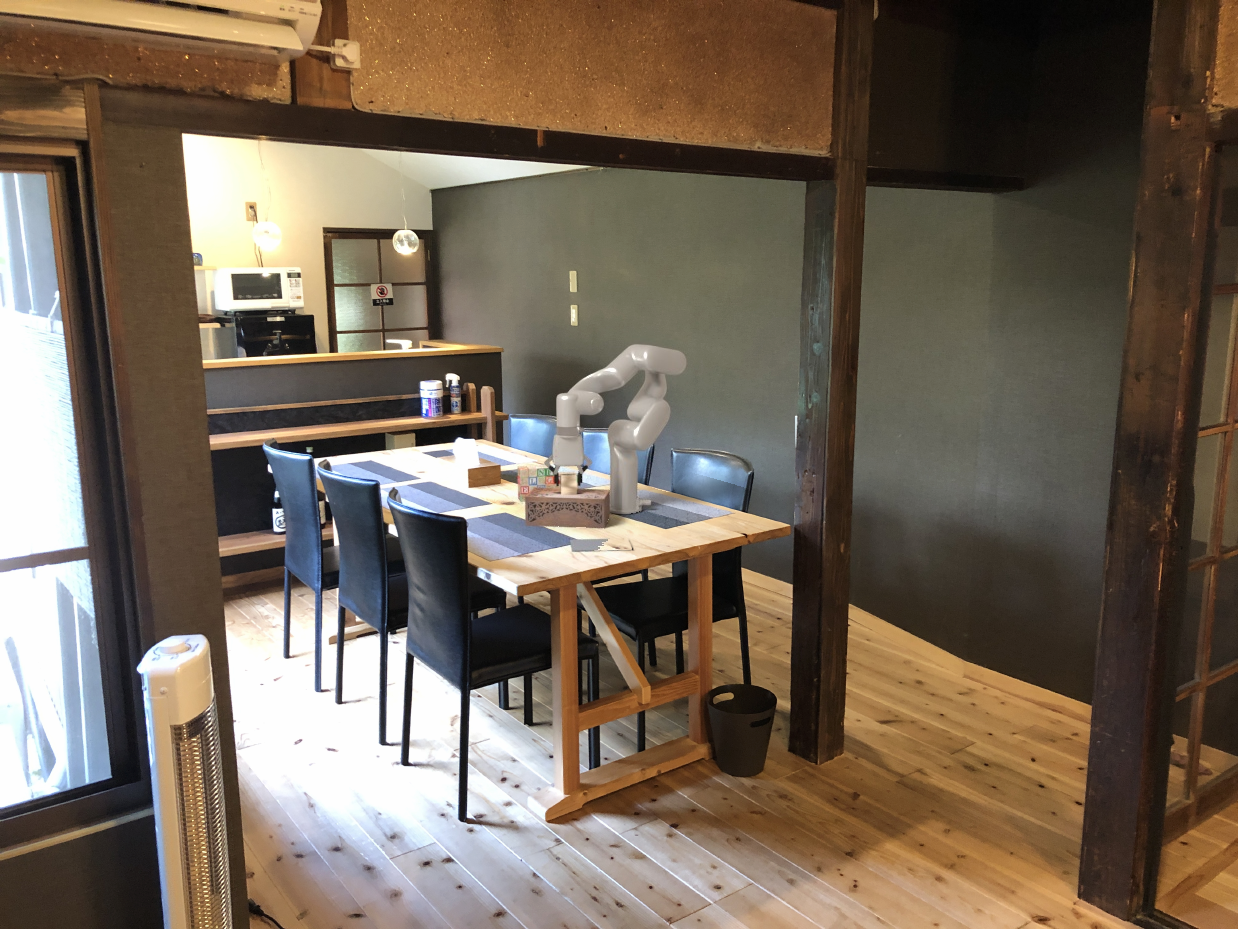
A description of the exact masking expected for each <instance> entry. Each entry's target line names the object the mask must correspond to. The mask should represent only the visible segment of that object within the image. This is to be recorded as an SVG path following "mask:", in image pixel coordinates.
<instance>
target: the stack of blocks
mask: <svg viewBox="0 0 1238 929" xmlns="http://www.w3.org/2000/svg"><path fill="white" fill-rule="evenodd" d="M558 474H559V486H556V483H554V473H553V472H552V471H551V470H550V469H549V468H548V467H547V466H546V465H545V464H536V465H521V466H520V465H519V466H517V499H518V501H519V502H520V503H525V496H526V495H527V494H528V493H529V492H530V491H531V490H532V489H533V488H534V487H541V488H560V474H576V476H577V489H579V486H578V473H577V472H576V471H558Z"/></svg>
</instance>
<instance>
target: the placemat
mask: <svg viewBox="0 0 1238 929" xmlns="http://www.w3.org/2000/svg"><path fill="white" fill-rule="evenodd" d="M608 539H609V538H589V539H587V538H585V539H583V538H581V539H578V538H577V539H569V543H570V548H571V552H572V551H585V552H593V551H592V550H598V549H600V547H598V546H604V545H602V544H604V543H602V542H606V541H608Z"/></svg>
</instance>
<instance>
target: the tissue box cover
mask: <svg viewBox="0 0 1238 929" xmlns="http://www.w3.org/2000/svg"><path fill="white" fill-rule="evenodd" d="M524 503H525V504H524V506H525V507H524V508H525V509H524V511H525V512H524V513H525V516H524V517H525V521H524V522H525V523H524V524H525V526H526V527H553V528H576V527H586V528H585V529H603V528H604V527H605V528H606V526H607V524H608V522H609V520H610V517H611V513H610V489H604V488H603V489H598V488H597V489H596V488H578V489H577V494H576V495H561V492H560V488H541V487H534V488H533V489H532V490H531V491H530V492H529V493H528V494H527V495H526V496H525V502H524ZM608 519H609V520H608ZM607 521H608V522H607ZM606 523H607V524H606ZM605 525H606V526H605ZM558 526H559V527H558ZM605 528H604V529H605Z"/></svg>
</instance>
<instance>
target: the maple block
mask: <svg viewBox="0 0 1238 929" xmlns="http://www.w3.org/2000/svg"><path fill="white" fill-rule="evenodd" d="M560 492H561V495H576V494H577V476H576V474H560Z"/></svg>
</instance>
